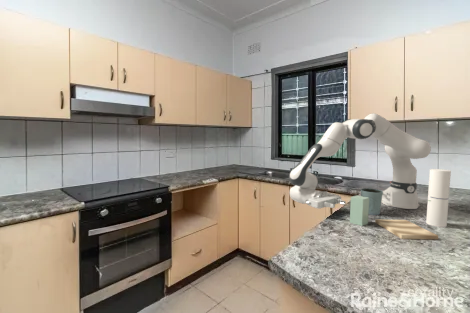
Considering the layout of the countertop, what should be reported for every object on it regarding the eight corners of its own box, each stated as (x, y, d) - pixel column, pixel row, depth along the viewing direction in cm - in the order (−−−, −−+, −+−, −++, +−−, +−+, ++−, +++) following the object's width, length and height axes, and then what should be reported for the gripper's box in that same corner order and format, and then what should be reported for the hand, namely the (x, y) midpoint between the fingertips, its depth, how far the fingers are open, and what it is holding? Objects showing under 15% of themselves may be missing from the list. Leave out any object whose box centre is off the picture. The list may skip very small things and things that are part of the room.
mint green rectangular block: (349, 222, 110) (350, 196, 109) (355, 220, 113) (357, 195, 112) (361, 226, 105) (363, 199, 104) (367, 223, 108) (369, 197, 108)
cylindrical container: (438, 227, 104) (443, 171, 102) (422, 222, 111) (425, 169, 109) (450, 226, 106) (455, 170, 104) (433, 221, 113) (437, 168, 111)
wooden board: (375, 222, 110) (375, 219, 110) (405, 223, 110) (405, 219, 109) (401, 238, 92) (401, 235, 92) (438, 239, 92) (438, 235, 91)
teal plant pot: (375, 210, 129) (377, 188, 128) (385, 216, 119) (387, 192, 118) (356, 209, 130) (357, 187, 129) (364, 215, 120) (365, 192, 119)
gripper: (303, 195, 122) (327, 201, 110) (326, 190, 133) (350, 195, 122) (302, 207, 122) (326, 214, 111) (326, 201, 134) (350, 207, 123)
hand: (339, 204), depth 117 cm, fingers open, 8 cm apart
